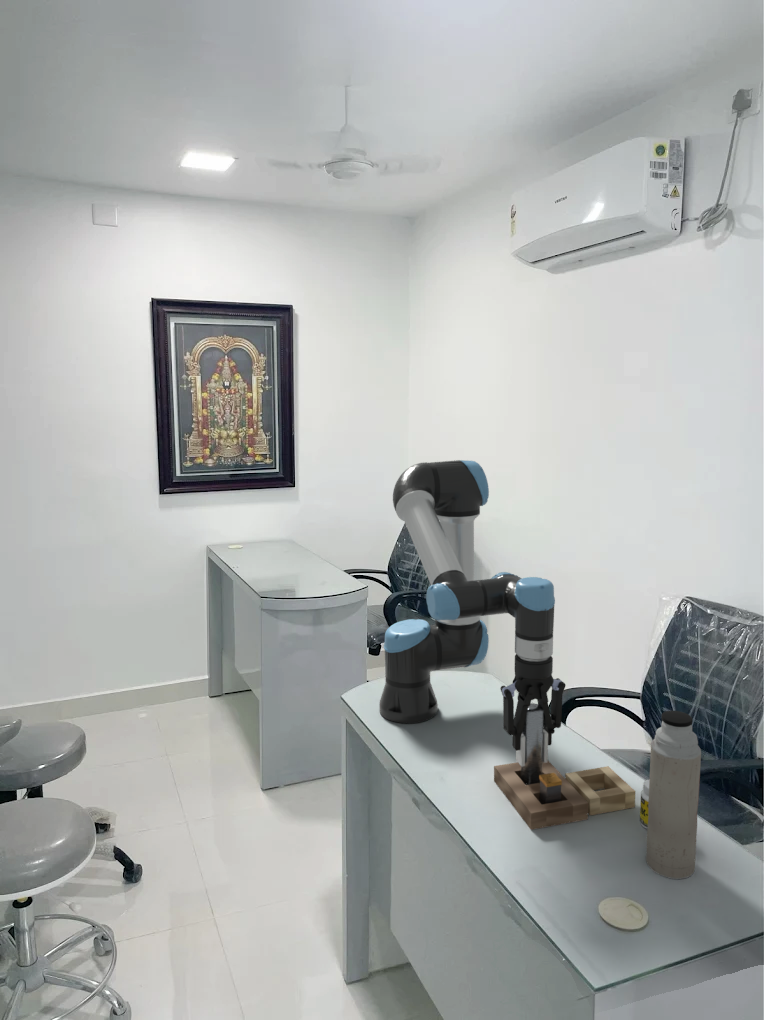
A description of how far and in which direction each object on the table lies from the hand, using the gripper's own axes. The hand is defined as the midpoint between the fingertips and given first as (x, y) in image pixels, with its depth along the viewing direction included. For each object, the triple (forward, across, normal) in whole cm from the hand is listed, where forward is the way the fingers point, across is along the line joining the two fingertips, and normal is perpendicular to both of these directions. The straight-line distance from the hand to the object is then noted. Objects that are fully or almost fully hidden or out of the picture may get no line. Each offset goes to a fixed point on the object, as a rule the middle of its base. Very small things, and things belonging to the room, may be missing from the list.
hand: (531, 760), depth 152 cm
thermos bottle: (+6, +13, -28) cm, 32 cm away
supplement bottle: (+7, +17, -18) cm, 25 cm away
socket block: (+7, 0, -4) cm, 8 cm away
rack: (+7, +12, -6) cm, 15 cm away
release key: (+6, 0, -8) cm, 10 cm away
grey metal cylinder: (+4, 0, 0) cm, 4 cm away
